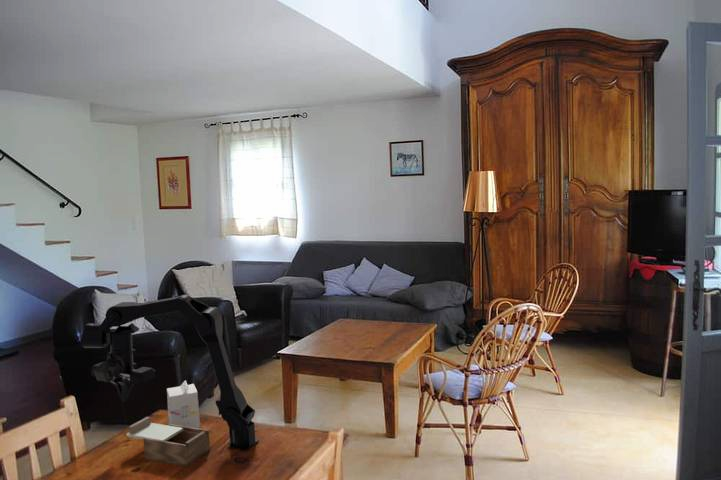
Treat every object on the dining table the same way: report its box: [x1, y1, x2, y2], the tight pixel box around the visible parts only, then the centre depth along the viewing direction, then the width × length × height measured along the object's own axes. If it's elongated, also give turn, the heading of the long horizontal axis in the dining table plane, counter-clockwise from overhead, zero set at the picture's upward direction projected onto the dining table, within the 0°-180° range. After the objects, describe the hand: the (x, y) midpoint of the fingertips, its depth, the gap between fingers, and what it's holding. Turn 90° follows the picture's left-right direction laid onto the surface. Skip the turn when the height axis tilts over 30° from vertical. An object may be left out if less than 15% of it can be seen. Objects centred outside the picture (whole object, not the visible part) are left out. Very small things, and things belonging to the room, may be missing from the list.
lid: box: [126, 416, 183, 441], centre depth 163 cm, size 13×8×3 cm, turn 67°
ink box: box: [166, 380, 201, 429], centre depth 179 cm, size 9×8×13 cm
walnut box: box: [142, 423, 211, 468], centre depth 161 cm, size 14×10×6 cm
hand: (124, 401), depth 166 cm, fingers closed
